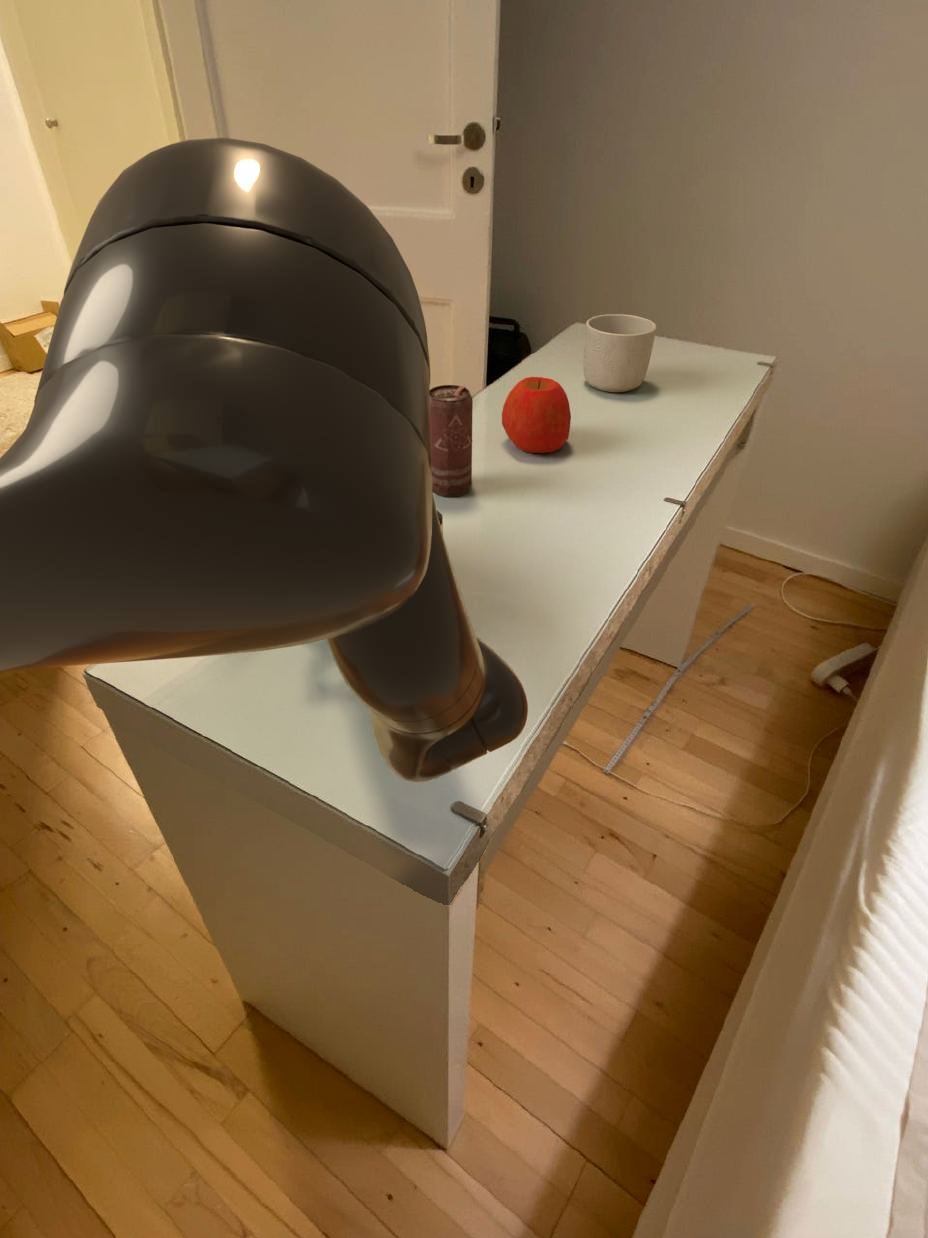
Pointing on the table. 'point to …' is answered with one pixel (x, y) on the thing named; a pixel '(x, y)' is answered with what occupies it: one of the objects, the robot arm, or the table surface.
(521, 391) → the apple
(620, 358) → the planter
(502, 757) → the table surface
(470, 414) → the can
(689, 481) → the table surface
